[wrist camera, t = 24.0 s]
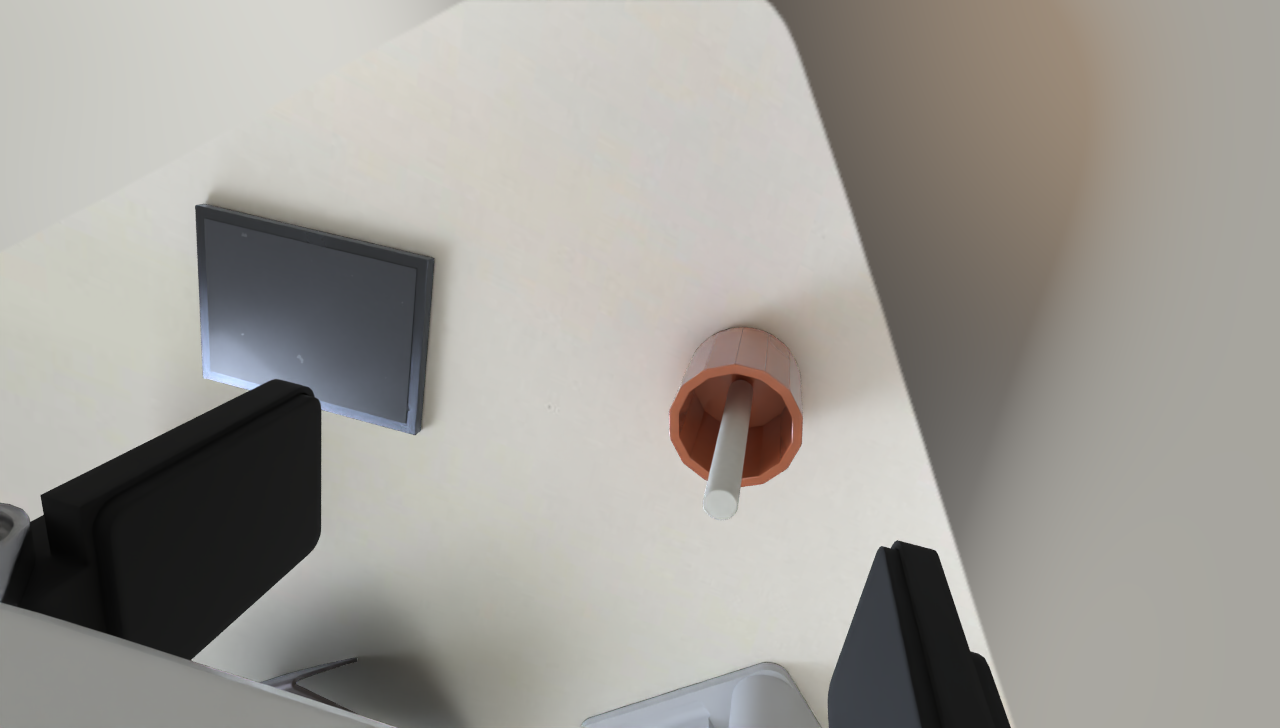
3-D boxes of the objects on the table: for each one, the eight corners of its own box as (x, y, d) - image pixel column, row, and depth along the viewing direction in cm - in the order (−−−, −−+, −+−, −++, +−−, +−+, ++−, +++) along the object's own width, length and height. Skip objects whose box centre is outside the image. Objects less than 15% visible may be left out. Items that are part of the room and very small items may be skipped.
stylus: (733, 371, 40) (706, 485, 28) (756, 377, 40) (741, 495, 27) (727, 393, 41) (699, 515, 28) (750, 398, 41) (733, 524, 28)
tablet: (204, 203, 45) (193, 204, 44) (434, 257, 43) (428, 260, 42) (211, 373, 49) (201, 378, 48) (421, 430, 47) (414, 435, 46)
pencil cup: (699, 315, 40) (682, 350, 34) (814, 342, 40) (819, 384, 33) (676, 416, 43) (656, 468, 36) (785, 443, 42) (784, 501, 35)
